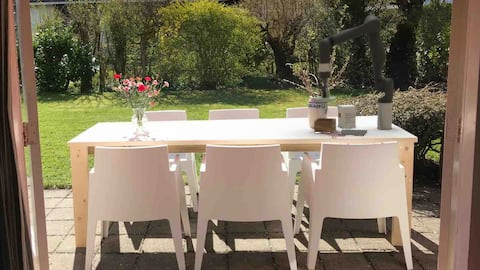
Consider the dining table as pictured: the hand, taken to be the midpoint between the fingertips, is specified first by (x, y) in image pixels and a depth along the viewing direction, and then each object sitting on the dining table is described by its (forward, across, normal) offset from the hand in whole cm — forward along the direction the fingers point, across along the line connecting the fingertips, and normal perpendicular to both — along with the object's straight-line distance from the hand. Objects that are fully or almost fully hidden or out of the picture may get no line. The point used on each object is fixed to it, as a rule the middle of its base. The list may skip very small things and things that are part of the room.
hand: (325, 97), depth 327 cm
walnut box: (+22, 0, 0) cm, 22 cm away
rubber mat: (+22, +2, +18) cm, 29 cm away
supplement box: (+23, -20, +11) cm, 32 cm away
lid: (+2, 0, 0) cm, 2 cm away
